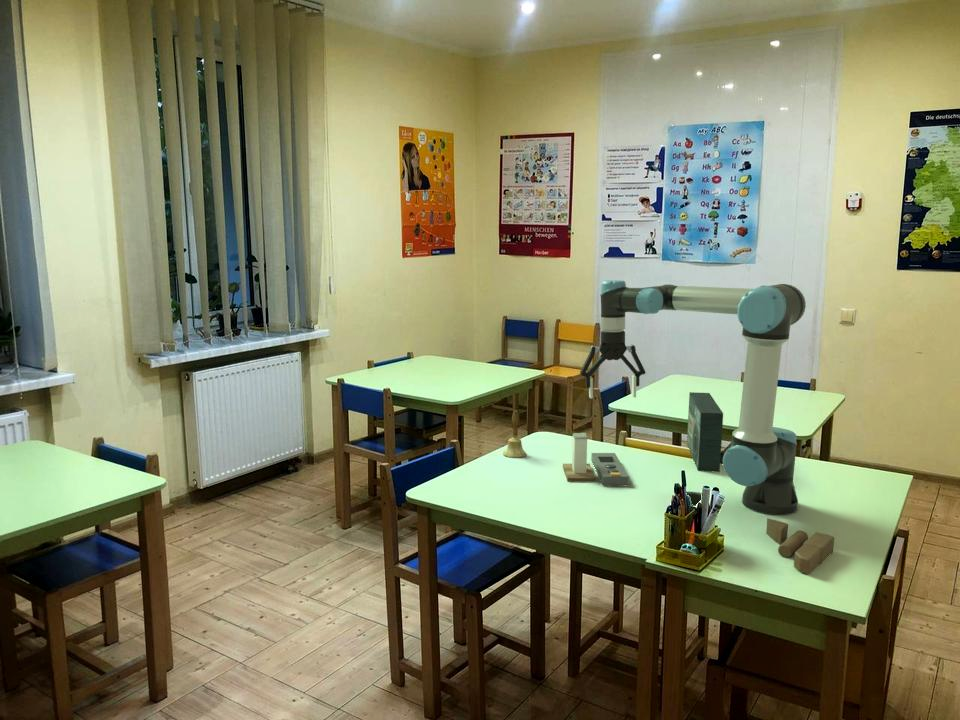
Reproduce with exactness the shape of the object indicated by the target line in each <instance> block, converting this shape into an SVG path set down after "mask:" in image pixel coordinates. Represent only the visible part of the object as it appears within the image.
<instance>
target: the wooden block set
mask: <svg viewBox="0 0 960 720" xmlns="http://www.w3.org/2000/svg"><path fill="white" fill-rule="evenodd" d="M788 528H789V522H788V523H787V522H783V521H779V520H776V519H772V518H768V517H767V519H766V530H765V534H766V535H767V536H768V537H769V538H770V539H771V540H773V541H774V542H775V544H778V545H779V546H778V548H777V551H778V555H780V556H781V557H783V558H790V557H791V556H793V554H794V562H793V567H794V568H795V569H796V570H797V572H799V571H800V572H802V573H801V574H803V573H805V574H804V575H807V574H808V575H809V574H811V573H812V572H813V571H814V569H816V568H817V567H818V566H819V565H821V564H820V563H822V562H823V561H824V560H825V559H826V558H827V557H828V556H829V555H830V554H831V555H832V554H833V553H834V545H835V536H833V535H829V534H826V533H822V532H818V531H815V532H814V533H813V534H812V535H811V536H809V535H808V533H807V532H806V531H804V530H802V529H801V530H800V529H799V530H797V531H796V532H794V533H793V534H792V535H791V536H790V537H788V530H789V529H788ZM786 539H787V540H786ZM785 540H786V541H785ZM832 552H833V553H832ZM831 555H830V556H831ZM830 556H829V557H830ZM829 557H828V558H829ZM828 558H827V559H828ZM827 559H826V560H827ZM826 560H825V561H826ZM825 561H824V562H825ZM824 562H823V563H824ZM823 563H822V564H823ZM800 572H799V573H800Z"/></svg>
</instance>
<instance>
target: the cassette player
mask: <svg viewBox="0 0 960 720" xmlns="http://www.w3.org/2000/svg"><path fill="white" fill-rule="evenodd" d="M688 395H689V397H688V398H689V399H688V416H687V433H686V446H687V448H689V449H690V451H689V453H690V456H691V458H692V460H693V463H694V462H695V463H694V465H695V467H697V468H696V470H697V471H698V472H712V471H714V472H715V473H720V472H721V457H722V455H721V454H722V444H723V443H722V440H723V423H724V412H723V411H722V409H721V408H720V405H718V403H717V402H716V401H715V399H714V398H713V396H712V395H711V394H710V392H693V391H692V392H691V391H690V392H689V394H688ZM689 449H688V450H689Z"/></svg>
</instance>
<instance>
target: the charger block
mask: <svg viewBox="0 0 960 720" xmlns="http://www.w3.org/2000/svg"><path fill="white" fill-rule="evenodd" d="M571 455H572V456H571V457H572V458H571V459H572V460H571V464H572V469H573V472H574V473H586V467H587V464H588V461H587V460H588V459H587V458H588V435H587V434H586V432H572V454H571Z"/></svg>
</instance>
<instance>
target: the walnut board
mask: <svg viewBox="0 0 960 720" xmlns="http://www.w3.org/2000/svg"><path fill="white" fill-rule="evenodd" d="M562 470H563V472H564V475H565V477H566V480H567V482H568V483H569V481H596V482H597V477H596V475H595V473H594V471H593V467H592V465H591V464H590V463H587V467H586V473H574V472H573V469H572V463H562Z"/></svg>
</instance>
